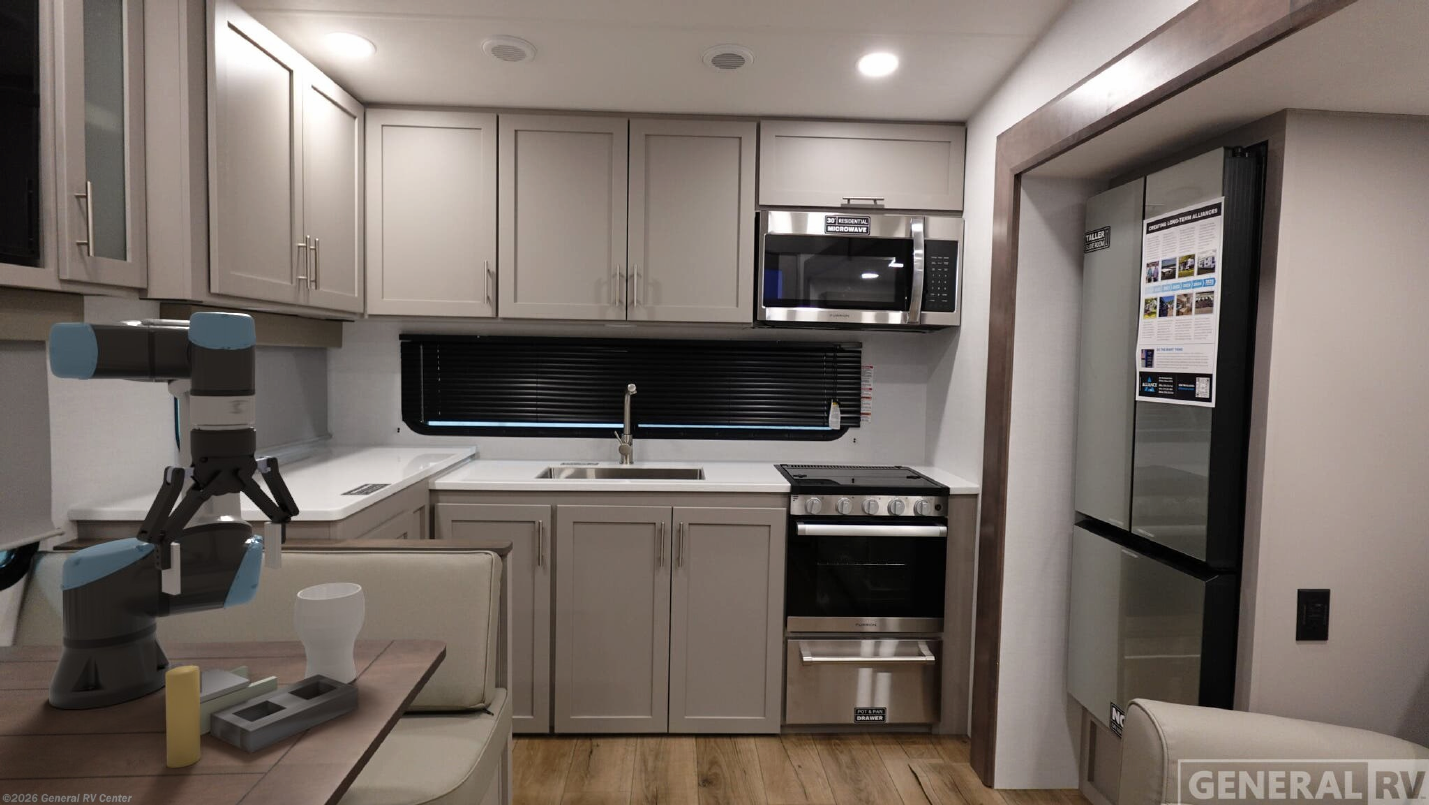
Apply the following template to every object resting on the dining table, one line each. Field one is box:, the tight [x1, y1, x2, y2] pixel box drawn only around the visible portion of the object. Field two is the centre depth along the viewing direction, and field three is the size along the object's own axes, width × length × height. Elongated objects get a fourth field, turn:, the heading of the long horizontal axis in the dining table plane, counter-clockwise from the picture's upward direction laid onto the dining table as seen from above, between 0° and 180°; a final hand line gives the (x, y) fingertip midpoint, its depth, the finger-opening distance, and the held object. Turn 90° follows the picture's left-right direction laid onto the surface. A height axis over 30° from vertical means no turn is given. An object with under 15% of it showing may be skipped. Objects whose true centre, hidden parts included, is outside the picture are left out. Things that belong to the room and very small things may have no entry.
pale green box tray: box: [200, 665, 278, 736], centre depth 112 cm, size 9×11×4 cm
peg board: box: [210, 674, 359, 754], centre depth 110 cm, size 10×16×3 cm, turn 151°
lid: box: [170, 662, 251, 703], centre depth 110 cm, size 9×7×4 cm
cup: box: [292, 582, 366, 684], centre depth 124 cm, size 11×11×15 cm
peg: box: [165, 664, 202, 769], centre depth 98 cm, size 4×4×12 cm
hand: (225, 579), depth 103 cm, fingers open, 13 cm apart
